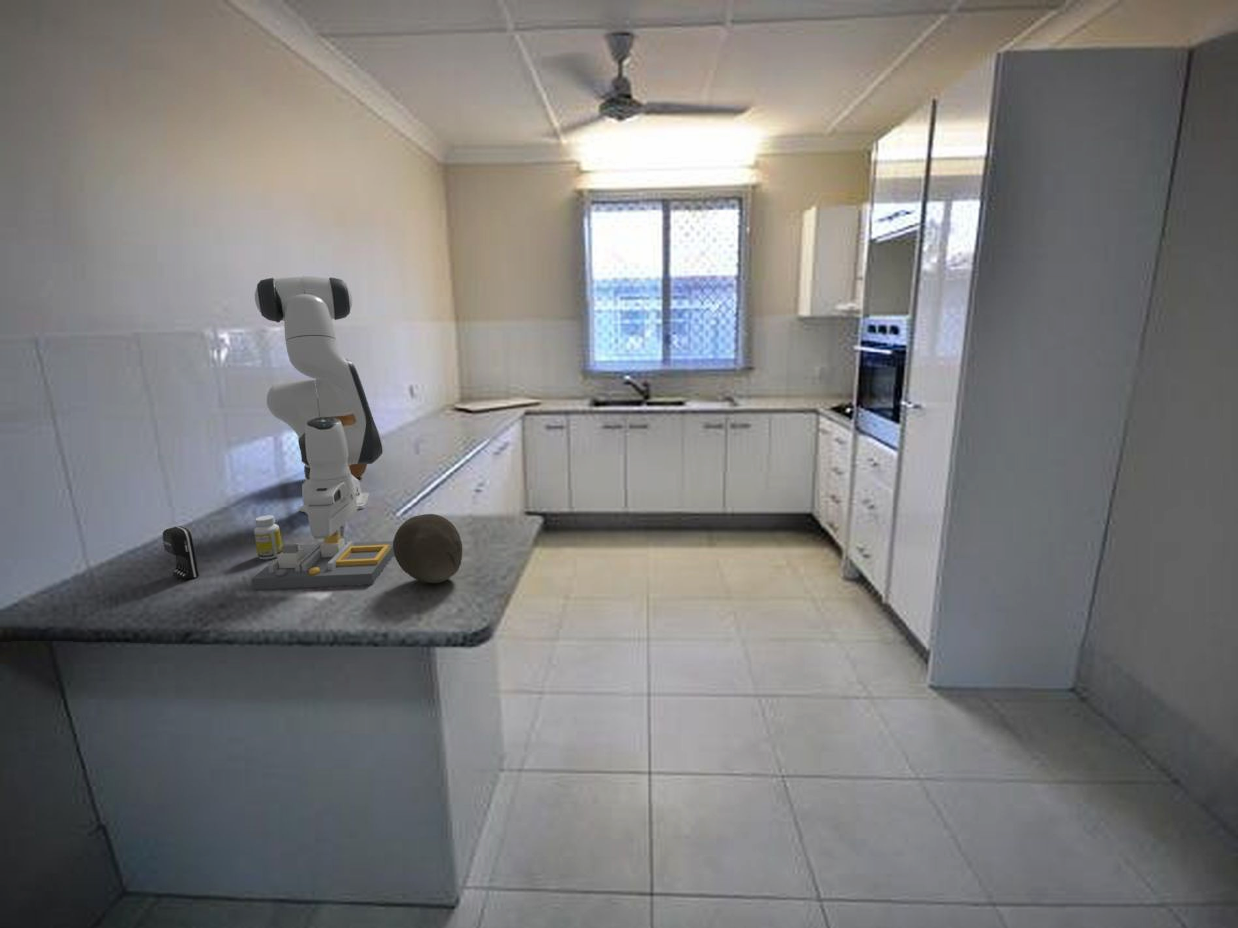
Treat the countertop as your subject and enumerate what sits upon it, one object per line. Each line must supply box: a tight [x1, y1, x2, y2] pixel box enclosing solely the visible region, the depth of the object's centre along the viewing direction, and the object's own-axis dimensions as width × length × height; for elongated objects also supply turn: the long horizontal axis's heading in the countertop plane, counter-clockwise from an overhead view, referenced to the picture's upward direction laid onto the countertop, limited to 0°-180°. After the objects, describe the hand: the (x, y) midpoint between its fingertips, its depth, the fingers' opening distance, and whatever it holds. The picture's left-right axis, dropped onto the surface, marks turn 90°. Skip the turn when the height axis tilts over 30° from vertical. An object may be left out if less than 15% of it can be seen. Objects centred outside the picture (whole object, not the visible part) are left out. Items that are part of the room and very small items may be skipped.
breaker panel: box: [251, 540, 395, 591], centre depth 144 cm, size 20×25×4 cm
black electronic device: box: [162, 525, 200, 581], centre depth 140 cm, size 7×4×11 cm, turn 55°
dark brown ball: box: [392, 513, 463, 584], centre depth 134 cm, size 14×14×15 cm
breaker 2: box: [320, 534, 346, 557], centre depth 145 cm, size 4×4×5 cm
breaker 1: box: [276, 543, 305, 568], centre depth 139 cm, size 4×4×5 cm
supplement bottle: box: [253, 514, 283, 560], centre depth 151 cm, size 5×5×10 cm
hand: (339, 543), depth 149 cm, fingers closed
